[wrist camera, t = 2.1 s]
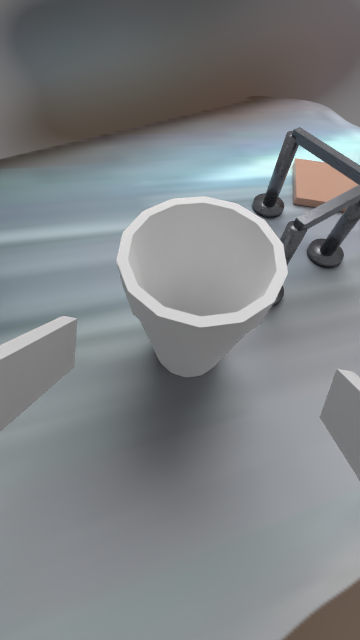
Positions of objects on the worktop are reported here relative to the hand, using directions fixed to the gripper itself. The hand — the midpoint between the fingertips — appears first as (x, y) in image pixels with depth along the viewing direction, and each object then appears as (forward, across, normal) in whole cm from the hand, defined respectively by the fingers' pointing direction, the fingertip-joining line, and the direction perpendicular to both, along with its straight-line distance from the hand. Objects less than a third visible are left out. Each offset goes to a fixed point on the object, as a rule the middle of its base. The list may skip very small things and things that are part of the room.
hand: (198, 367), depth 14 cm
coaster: (+32, +14, +16) cm, 39 cm away
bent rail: (+23, +9, +7) cm, 26 cm away
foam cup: (+12, -1, -4) cm, 13 cm away
